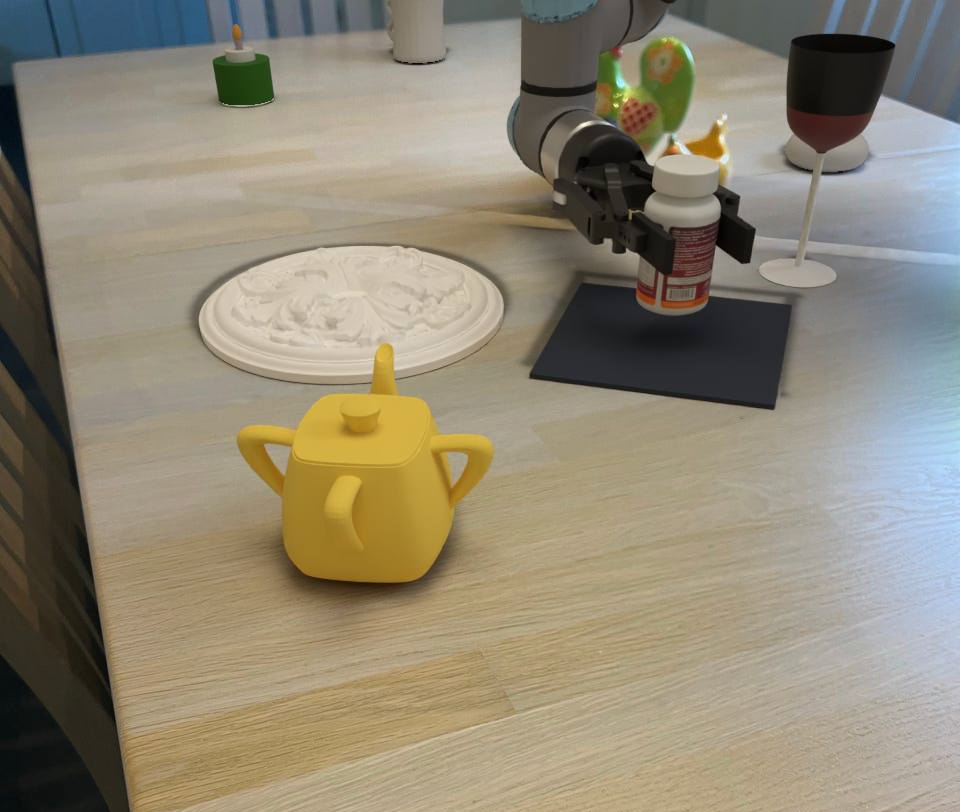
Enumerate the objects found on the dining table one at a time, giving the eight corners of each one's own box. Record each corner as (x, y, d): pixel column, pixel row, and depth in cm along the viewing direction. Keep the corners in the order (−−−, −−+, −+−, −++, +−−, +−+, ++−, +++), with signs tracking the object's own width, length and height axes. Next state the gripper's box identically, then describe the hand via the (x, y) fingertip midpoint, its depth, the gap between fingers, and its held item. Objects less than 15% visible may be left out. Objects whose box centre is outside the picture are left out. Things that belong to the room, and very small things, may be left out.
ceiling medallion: (177, 282, 100) (170, 250, 98) (442, 242, 108) (441, 211, 106) (234, 409, 81) (227, 372, 78) (553, 348, 88) (554, 313, 86)
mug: (457, 58, 173) (456, -11, 166) (419, 67, 168) (416, -3, 161) (407, 48, 179) (404, -19, 172) (369, 57, 174) (364, -12, 168)
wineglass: (752, 254, 104) (790, 32, 91) (840, 260, 103) (890, 35, 90) (752, 284, 98) (792, 51, 85) (845, 291, 97) (900, 54, 84)
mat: (791, 308, 94) (792, 304, 94) (774, 409, 80) (775, 404, 80) (580, 286, 99) (581, 282, 98) (529, 377, 84) (529, 373, 84)
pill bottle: (719, 299, 87) (741, 160, 80) (686, 324, 84) (706, 181, 76) (656, 283, 90) (671, 147, 83) (621, 306, 86) (634, 166, 79)
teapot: (236, 526, 68) (208, 387, 62) (396, 465, 74) (386, 331, 67) (339, 632, 60) (318, 485, 53) (510, 555, 66) (512, 412, 59)
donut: (771, 169, 126) (851, 180, 122) (775, 139, 124) (857, 149, 119) (799, 148, 132) (876, 158, 128) (804, 119, 130) (882, 129, 126)
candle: (220, 109, 149) (207, 31, 143) (218, 95, 155) (205, 20, 149) (276, 105, 151) (266, 28, 144) (272, 91, 157) (262, 17, 150)
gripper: (680, 196, 100) (806, 283, 84) (497, 218, 96) (593, 314, 79) (690, 113, 95) (826, 188, 79) (498, 132, 91) (600, 216, 74)
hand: (709, 251), depth 79 cm, fingers closed on pill bottle, 6 cm apart
